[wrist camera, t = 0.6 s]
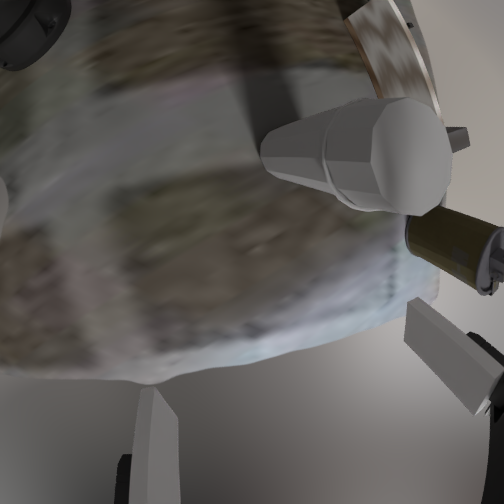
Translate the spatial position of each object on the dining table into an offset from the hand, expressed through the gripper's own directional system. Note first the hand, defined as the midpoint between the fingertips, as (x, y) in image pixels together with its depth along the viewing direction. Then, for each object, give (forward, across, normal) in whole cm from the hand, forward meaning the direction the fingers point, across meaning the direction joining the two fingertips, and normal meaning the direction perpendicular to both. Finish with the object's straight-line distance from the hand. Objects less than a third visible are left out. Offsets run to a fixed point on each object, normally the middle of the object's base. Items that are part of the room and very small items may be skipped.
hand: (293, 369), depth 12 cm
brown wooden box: (+27, +31, +17) cm, 45 cm away
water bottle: (+27, +10, +7) cm, 30 cm away
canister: (+27, +34, -10) cm, 44 cm away
